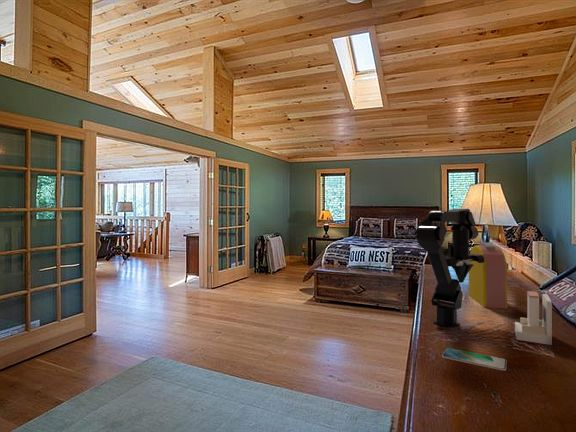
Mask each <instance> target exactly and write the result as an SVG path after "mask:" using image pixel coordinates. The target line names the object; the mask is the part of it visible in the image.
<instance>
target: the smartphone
mask: <svg viewBox="0 0 576 432" xmlns="http://www.w3.org/2000/svg"><path fill="white" fill-rule="evenodd" d="M441 357H442V358H443V359H447V360H452V361H455V362H456V361H457V362H461V363H465V364H469V365H475V366H480V367H484V368H488V369H494V370H498V371H507V364H508V363H507V362H508V360H507V359H506V358H503V357H496V356H491V355H486V354H482V353H476V352H472V351H466V350H463V349H456V348H452V347H446V348H445V350H444V351H443V354H442V355H441Z"/></svg>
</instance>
